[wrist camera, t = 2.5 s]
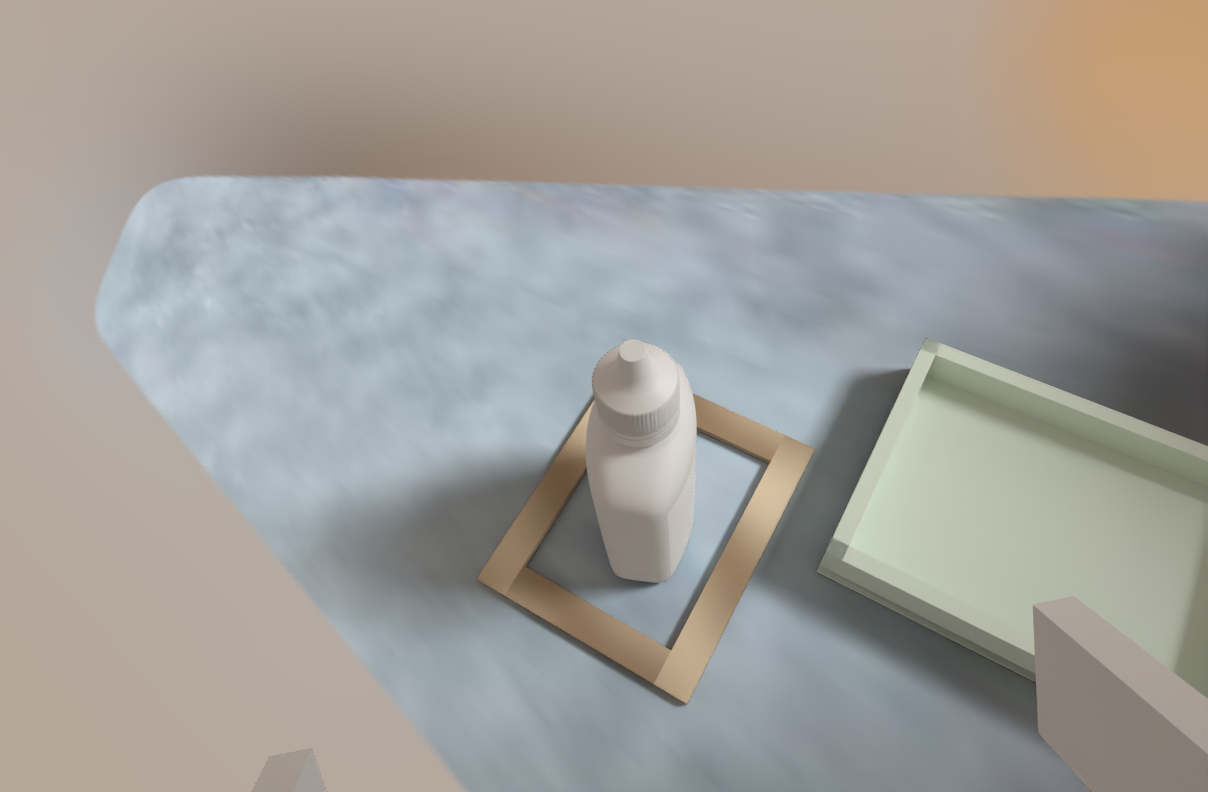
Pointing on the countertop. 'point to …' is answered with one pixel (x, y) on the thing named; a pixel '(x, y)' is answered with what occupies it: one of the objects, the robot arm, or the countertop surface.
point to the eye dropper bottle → (642, 460)
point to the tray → (1027, 516)
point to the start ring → (718, 597)
